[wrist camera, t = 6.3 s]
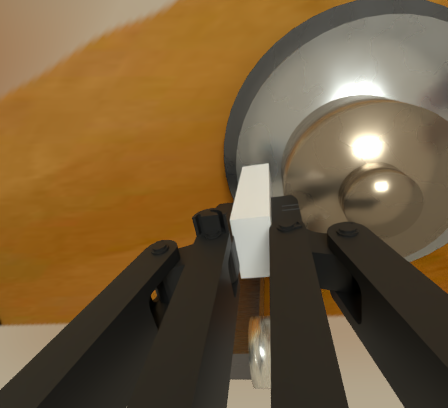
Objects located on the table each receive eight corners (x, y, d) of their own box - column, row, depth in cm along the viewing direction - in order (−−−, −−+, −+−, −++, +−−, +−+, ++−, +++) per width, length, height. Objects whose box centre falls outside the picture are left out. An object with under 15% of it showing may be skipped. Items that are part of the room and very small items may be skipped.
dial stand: (242, 276, 26) (227, 403, 16) (235, 240, 24) (214, 356, 15) (275, 273, 25) (279, 404, 15) (270, 237, 24) (271, 356, 14)
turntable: (255, 265, 23) (253, 300, 19) (218, 52, 17) (206, 48, 14) (565, 243, 19) (631, 282, 15) (658, -45, 13) (797, -85, 10)
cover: (287, 232, 20) (294, 288, 15) (273, 109, 16) (275, 127, 11) (421, 220, 18) (479, 278, 13) (432, 80, 15) (515, 87, 10)
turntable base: (246, 263, 25) (244, 274, 24) (204, 39, 18) (199, 37, 17) (474, 246, 22) (488, 258, 20) (524, -35, 15) (549, -45, 14)
